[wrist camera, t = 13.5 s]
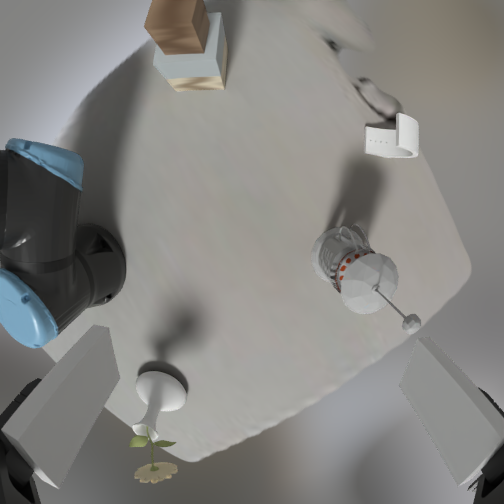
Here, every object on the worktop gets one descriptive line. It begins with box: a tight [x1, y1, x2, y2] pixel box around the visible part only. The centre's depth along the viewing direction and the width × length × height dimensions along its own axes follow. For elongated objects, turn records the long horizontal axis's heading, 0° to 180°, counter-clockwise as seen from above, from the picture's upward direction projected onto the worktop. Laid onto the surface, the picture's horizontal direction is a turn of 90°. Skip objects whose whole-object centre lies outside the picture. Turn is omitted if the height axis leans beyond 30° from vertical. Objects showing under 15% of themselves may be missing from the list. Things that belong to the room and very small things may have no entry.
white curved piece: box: [364, 113, 419, 158], centre depth 34 cm, size 5×6×12 cm
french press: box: [311, 224, 421, 334], centre depth 33 cm, size 10×12×25 cm
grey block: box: [153, 12, 225, 79], centre depth 29 cm, size 8×8×6 cm
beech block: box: [166, 37, 228, 91], centre depth 34 cm, size 8×8×6 cm
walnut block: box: [144, 0, 210, 55], centre depth 22 cm, size 5×5×8 cm
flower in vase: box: [129, 371, 187, 483], centre depth 40 cm, size 13×11×25 cm
